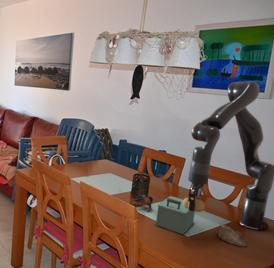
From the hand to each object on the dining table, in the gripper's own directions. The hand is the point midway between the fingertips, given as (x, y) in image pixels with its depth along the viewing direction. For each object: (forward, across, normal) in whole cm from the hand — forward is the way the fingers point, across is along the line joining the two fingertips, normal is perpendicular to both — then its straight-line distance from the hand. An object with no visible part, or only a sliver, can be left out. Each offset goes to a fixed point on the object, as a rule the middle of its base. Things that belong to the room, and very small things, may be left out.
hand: (193, 208), depth 145 cm
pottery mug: (+15, +20, +28) cm, 38 cm away
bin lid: (+5, +11, +9) cm, 16 cm away
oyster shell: (+15, +16, -15) cm, 26 cm away
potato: (+1, 0, 0) cm, 1 cm away
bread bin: (+15, +12, +10) cm, 21 cm away
